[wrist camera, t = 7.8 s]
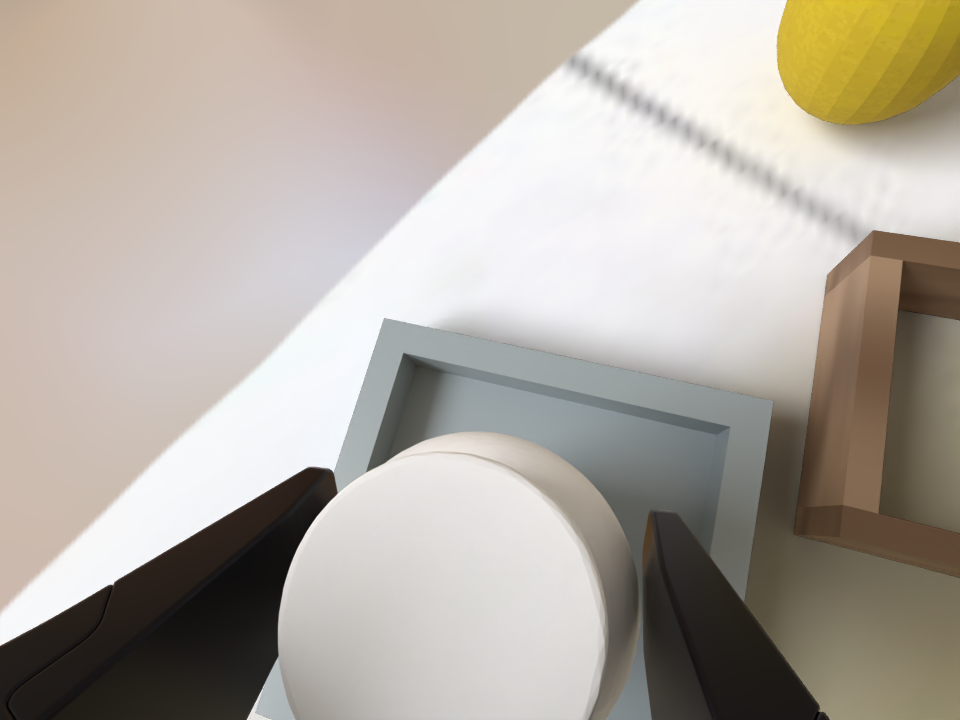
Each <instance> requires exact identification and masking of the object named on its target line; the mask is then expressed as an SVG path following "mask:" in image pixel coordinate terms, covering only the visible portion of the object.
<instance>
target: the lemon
mask: <svg viewBox="0 0 960 720" xmlns="http://www.w3.org/2000/svg"><path fill="white" fill-rule="evenodd" d="M777 62H778V70H779V73H780V76H781V79H782V82H783V84H784V87H785V89H786V91H787V92H788V94H789V95H790V96H791V98H792V99H793V100H794V102H795V103H796V104H797V105H798V106H799V107H801V108H802V109H803V110H804V111H806V112H807V113H808V114H811V115H813V116H815V117H817V118H819V119H821V120H824V121H828V122H833V123H837V124H854V125H857V124H864V123H870V122H877V121H881V120H884V119H887V118H890V117H893V116H895V115H898V114H901V113H903V112H906V111H908V110H910V109H912V108H914V107H916V106H918V105H919V104H921V103H922V102H924V101H925V100H927V99H928V98H929V97H931V96H932V95H934V94H935V93H937V92H938V91H940V90H941V89H943V88H944V87H945V86H946V85H948V84H949V83H950V82H951V81H953V80H954V79H955V78H956V77H957V76H958V75H959V74H960V0H787V3H786V6H785V9H784V13H783V16H782V19H781V23H780V26H779V31H778V36H777Z"/></svg>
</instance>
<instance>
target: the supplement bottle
mask: <svg viewBox="0 0 960 720" xmlns="http://www.w3.org/2000/svg"><path fill="white" fill-rule="evenodd" d="M639 630H640V589H639V582H638V576H637V571H636V567H635V563H634V559H633V556H632V553H631V549H630V546H629V544H628V541H627V539H626V536H625V534H624V532H623V530H622V528H621V526H620V524H619V522H618V520H617V518H616V516H615V514H614V513H613V511H612V509H611V508H610V506H609V505H608V503H607V502H606V500H605V499H604V497H603V496H602V495H601V493H600V492H599V491H598V490H597V489H596V488H595V486H594V485H593V484H592V483H591V482H590V481H589V480H588V479H587V478H586V477H585V476H584V475H583V474H582V473H581V472H579V471H578V470H577V469H576V468H575V467H573V466H572V465H571V464H569V463H568V462H567V461H565V460H564V459H563V458H561V457H560V456H558V455H557V454H555V453H553V452H551V451H550V450H548V449H546V448H544V447H542V446H540V445H538V444H536V443H533V442H530V441H527V440H525V439H522V438H519V437H515V436H511V435H506V434H500V433H495V432H458V433H452V434H446V435H442V436H439V437H435V438H431V439H428V440H425V441H422V442H420V443H418V444H416V445H414V446H412V447H410V448H408V449H406V450H404V451H402V452H400V453H399V454H397V455H396V456H394V457H393V458H391V459H390V460H388V461H387V462H386V463H384V464H382V465H380V466H378V467H376V468H374V469H372V470H370V471H368V472H367V473H365V474H363V475H362V476H360V477H359V478H357V479H356V480H354V481H353V482H352V483H350V484H349V485H348V486H346V487H345V488H344V489H343V490H342V491H340V492H339V493H338V494H337V495H336V496H335V497H334V498H333V499H332V500H331V501H330V502H329V503H328V504H327V505H326V507H325V508H324V509H323V510H322V511H321V512H320V514H319V515H318V516H317V517H316V519H315V520H314V521H313V523H312V524H311V526H310V527H309V529H308V530H307V532H306V534H305V536H304V538H303V539H302V541H301V543H300V545H299V546H298V549H297V551H296V553H295V555H294V558H293V560H292V562H291V565H290V568H289V571H288V574H287V578H286V581H285V584H284V588H283V594H282V599H281V605H280V610H279V620H278V652H279V664H280V669H281V675H282V680H283V684H284V689H285V692H286V695H287V699H288V702H289V705H290V708H291V710H292V712H293V715H294V717H295V719H296V720H605V719H606V718H607V716H608V715H609V714H610V712H611V710H612V709H613V707H614V705H615V704H616V702H617V701H618V698H619V696H620V694H621V692H622V690H623V688H624V686H625V684H626V682H627V680H628V677H629V675H630V672H631V668H632V664H633V660H634V657H635V654H636V651H637V644H638V637H639Z"/></svg>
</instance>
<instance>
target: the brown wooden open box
mask: <svg viewBox="0 0 960 720" xmlns="http://www.w3.org/2000/svg"><path fill="white" fill-rule="evenodd" d="M898 309H899V310H905V311H911V312H917V313H923V314H929V315H935V316H940V317H946V318H952V319H958V320H960V243H958V242H951V241H944V240H937V239H931V238H924V237H917V236H910V235H903V234H896V233H889V232H882V231H875V230H873V231H872V232H871V233H870V234H869V235H868V236H867V237H866V238H865V239H864V240H863V241H862V242H861V243H860V244H859V245H858V246H857V247H856V248H855V249H854V250H853V251H851V252H850V253H849V254H848V255H847V256H846V257H845V258H844V259H843V260H842V261H841V262H840V263H839V264H838V265H837V266H836V267H835V268H834V269H833V270H832V271H831V272H830V273H829V274H828V275H827V280H826V288H825V296H824V304H823V311H822V319H821V327H820V334H819V342H818V350H817V357H816V365H815V373H814V381H813V388H812V396H811V404H810V411H809V419H808V427H807V434H806V442H805V450H804V457H803V465H802V473H801V481H800V488H799V496H798V504H797V511H796V519H795V527H794V535H798V536H802V537H806V538H810V539H813V540H817V541H821V542H825V543H829V544H833V545H836V546H840V547H844V548H848V549H852V550H856V551H860V552H863V553H867V554H871V555H875V556H879V557H883V558H886V559H890V560H894V561H898V562H902V563H906V564H909V565H913V566H917V567H921V568H925V569H929V570H932V571H936V572H940V573H944V574H948V575H952V576H955V577H959V578H960V533H956V532H952V531H948V530H944V529H939V528H935V527H931V526H927V525H923V524H919V523H915V522H911V521H907V520H903V519H899V518H895V517H890V516H886V515H882V514H878V513H879V502H880V492H881V481H882V471H883V461H884V450H885V440H886V429H887V419H888V408H889V398H890V388H891V377H892V367H893V356H894V346H895V335H896V325H897V315H898Z"/></svg>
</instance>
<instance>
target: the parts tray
mask: <svg viewBox="0 0 960 720" xmlns="http://www.w3.org/2000/svg"><path fill="white" fill-rule="evenodd" d="M772 408H773V401H771V400H767V399H762V398H757V397H753V396H748V395H743V394H739V393H734V392H729V391H724V390H720V389H715V388H710V387H706V386H701V385H696V384H692V383H687V382H682V381H678V380H673V379H668V378H663V377H659V376H654V375H649V374H645V373H640V372H635V371H631V370H626V369H621V368H617V367H612V366H607V365H602V364H598V363H593V362H588V361H584V360H579V359H574V358H570V357H565V356H560V355H555V354H551V353H546V352H541V351H537V350H532V349H527V348H523V347H518V346H513V345H509V344H504V343H499V342H494V341H490V340H485V339H480V338H476V337H471V336H466V335H462V334H457V333H452V332H448V331H443V330H438V329H433V328H429V327H424V326H419V325H415V324H410V323H405V322H401V321H396V320H391V319H386V318H384V320H383V323H382V326H381V329H380V333H379V336H378V339H377V342H376V345H375V348H374V351H373V354H372V357H371V360H370V363H369V366H368V369H367V372H366V375H365V378H364V382H363V385H362V388H361V391H360V394H359V397H358V400H357V403H356V406H355V409H354V412H353V415H352V418H351V421H350V424H349V427H348V431H347V434H346V437H345V440H344V443H343V446H342V449H341V452H340V455H339V458H338V461H337V464H336V467H335V470H334V476H335V481H336V486H337V492H338V493H339V492H340V491H342V490H343V489H344V488H345V487H346V486H348V485H349V484H350V483H352V482H353V481H354V480H356V479H357V478H359V477H360V476H362V475H363V474H365V473H367V472H368V471H370V470H372V469H374V468H376V467H378V466H380V465H382V464H384V463H386V462H387V461H388V460H390V459H391V458H393V457H394V456H396V455H397V454H399V453H400V452H402V451H404V450H406V449H408V448H410V447H412V446H414V445H416V444H418V443H420V442H422V441H425V440H428V439H431V438H435V437H439V436H442V435H446V434H452V433H458V432H495V433H500V434H506V435H511V436H515V437H519V438H522V439H525V440H527V441H530V442H533V443H536V444H538V445H540V446H542V447H544V448H546V449H548V450H550V451H551V452H553V453H555V454H557V455H558V456H560V457H561V458H563V459H564V460H565V461H567V462H568V463H569V464H571V465H572V466H573V467H575V468H576V469H577V470H578V471H579V472H581V473H582V474H583V475H584V476H585V477H586V478H587V479H588V480H589V481H590V482H591V483H592V484H593V485H594V486H595V488H596V489H597V490H598V491H599V492H600V493H601V495H602V496H603V497H604V499H605V500H606V502H607V503H608V505H609V506H610V508H611V509H612V511H613V513H614V514H615V516H616V518H617V520H618V522H619V524H620V526H621V528H622V530H623V532H624V534H625V536H626V539H627V541H628V544H629V546H630V549H631V553H632V556H633V559H634V563H635V567H636V571H637V576H638V582H639V589H640V630H639V637H638V644H637V651H636V654H635V657H634V660H633V664H632V668H631V672H630V675H629V677H628V680H627V682H626V684H625V686H624V688H623V690H622V692H621V694H620V696H619V698H618V701H617V702H616V704H615V705H614V707H613V709H612V710H611V712H610V714H609V715H608V716H607V718H606V719H605V720H652V717H651V710H650V702H649V694H648V686H647V679H646V671H645V661H644V649H643V581H642V554H643V544H644V538H645V532H646V526H647V520H648V515H649V512H650V510H651V509H662V510H671V511H675V512H677V513H678V514H679V515H680V516H681V518H682V519H683V520H684V522H685V523H686V524H687V526H688V527H689V528H690V530H691V531H692V533H693V534H694V535H695V537H696V538H697V539H698V541H699V542H700V543H701V545H702V546H703V548H704V549H705V550H706V552H707V553H708V554H709V556H710V557H711V558H712V560H713V561H714V563H715V564H716V565H717V567H718V568H719V569H720V571H721V572H722V573H723V575H724V576H725V578H726V579H727V580H728V582H729V583H730V584H731V586H732V587H733V588H734V590H735V591H736V593H737V594H738V595H739V597H740V598H741V599H742V601H743V602H744V600H745V593H746V586H747V579H748V573H749V566H750V559H751V552H752V545H753V538H754V532H755V525H756V518H757V511H758V504H759V497H760V490H761V484H762V477H763V470H764V463H765V456H766V449H767V443H768V436H769V429H770V422H771V415H772ZM255 713H257V714H259V715H262V716H264V717H267V718H269V719H272V720H296V719H295V717H294V715H293V712H292V710H291V708H290V705H289V702H288V699H287V695H286V692H285V689H284V684H283V680H282V675H281V669H280V664H279V656H278V658H277V660H276V662H275V664H274V666H273V668H272V670H271V672H270V674H269V676H268V678H267V680H266V682H265V685H264V688H263V691H262V694H261V697H260V700H259V703H258V706H257V709H256V712H255Z"/></svg>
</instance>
